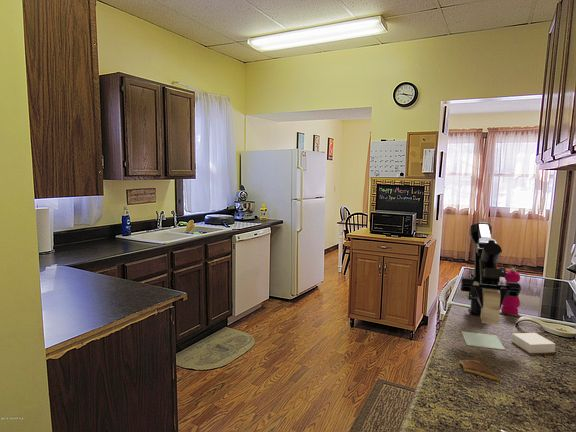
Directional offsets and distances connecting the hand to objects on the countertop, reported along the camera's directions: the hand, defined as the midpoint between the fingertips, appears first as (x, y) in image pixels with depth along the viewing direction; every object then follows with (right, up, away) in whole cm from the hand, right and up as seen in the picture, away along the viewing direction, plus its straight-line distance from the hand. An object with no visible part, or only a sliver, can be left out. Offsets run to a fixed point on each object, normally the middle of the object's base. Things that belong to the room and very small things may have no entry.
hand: (490, 308), depth 130 cm
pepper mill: (+27, -10, +35) cm, 45 cm away
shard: (-11, -16, -15) cm, 25 cm away
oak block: (0, -5, +2) cm, 5 cm away
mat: (0, -13, +5) cm, 14 cm away
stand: (+15, -14, +1) cm, 20 cm away
